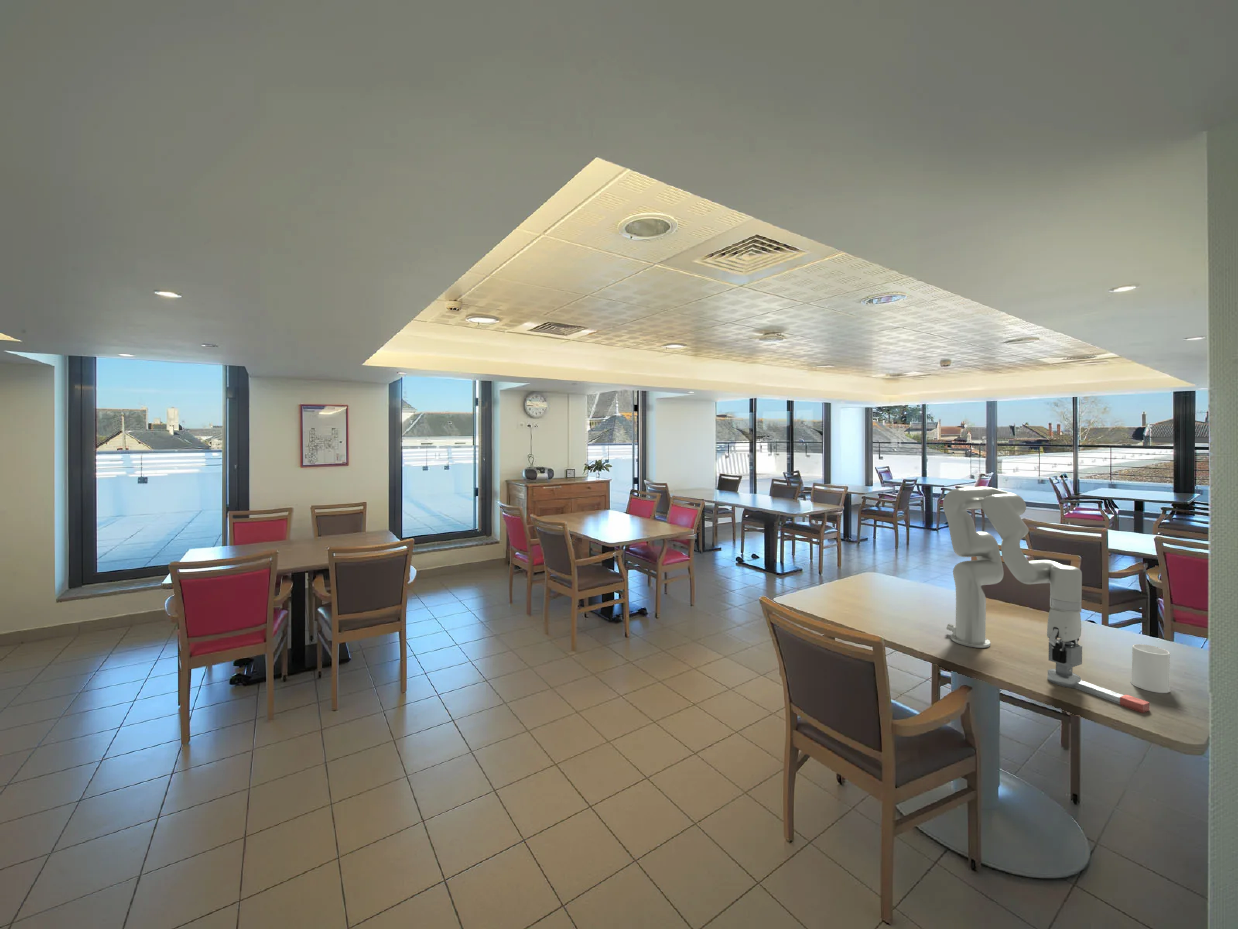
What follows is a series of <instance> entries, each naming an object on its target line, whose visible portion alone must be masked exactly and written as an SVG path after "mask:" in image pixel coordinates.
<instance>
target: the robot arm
mask: <svg viewBox="0 0 1238 929" xmlns="http://www.w3.org/2000/svg"><path fill="white" fill-rule="evenodd" d="M942 508H943V512H944V514H945V517H946V522H947V524H948V529H949V531H948V532H949V534H950V535H949V536H950V540H951V544H952V549H953V551H954V553H955V554H956V555H957V556H958V557H963V558H973V557H976V559H974V560H964V561H960V562H958V563H956V564H955V566H954V568H953V569H952V570H953V571H952V575H953V580H954V585H955V625H954V624H951V623H948V624H947V625H946V630H948V631H951V632H952V634H951V635H950V639H951V641H953V643H956V644H959V645H962V646H965V647H969V648H974V649H975V648H976V649H983V648H984V649H986V648H989V647H991V640H989V639H988V638H986V631H987V630H986V628H987V627H986V626H987V624H986V620H987V615H986V614H987V613H986V612H987V610H986V609H987V608H986V607H987V599H986V594H985V591H984V590H983V588H982V586H986V585H988V586H989V585H997V584H998V583H1000V582H1001V581H1002V580H1003V579H1004V575H1005V574H1004V573H1005V572H1004V567H1003V563H1004V564H1005V566H1006V567H1007V569H1008V570H1009V572H1010V573H1011V574H1012V576H1013V577H1014V578H1015V579H1016V580H1017V581H1019V582H1020V583H1022V584H1025V585H1037V584H1050V585H1049V591H1050V593H1049V594H1050V595H1049V607H1050V609H1049V612H1048V617H1047V624H1046V626H1047V627H1046V637H1047V638H1048V643H1049V642H1050V643H1051V645H1052V660H1054V661H1057V662H1060V663H1063V664H1064V663H1065V651H1064V647H1065V642H1068V641H1071V642H1072V643H1075V644H1078V645H1079V641H1080V638H1081V636H1082V618H1081V616H1082V615H1081V613H1082V603H1083V601H1082V596H1083V595H1082V592H1083V591H1082V590H1083V588H1082V587H1083V586H1082V585H1083V572H1082V570H1081V569H1080V568H1079V567H1076V566H1074V565H1069V564H1068V565H1067V564H1062V563H1059V562H1057V561H1054V560H1050V559H1038V560H1037V559H1036V560H1035V559H1034V560H1028V559H1027V557H1026V556H1025V554H1024V553H1023V550H1022V548H1021V545H1020V544H1021V541H1022V539H1023V538H1024V537H1026V536H1027V535H1028V534H1029V532H1030V529H1029V527H1028V525H1026V523H1025V521H1024V520H1023V519H1022V518H1021V515H1023V514H1025V513H1026V510H1027V504H1026V502H1025V500H1024V499H1023V497H1021V496H1020V495H1018V494H1016V493H1013V492H1009V491H1006V490H1002V489H998V488H995V487H989V486H969V487H967V486H965V487H957V488H954V489H951V490H949V491H948V492H947V493H946V495H945V496H944V498H943V502H942ZM977 509H979V510H980V509H981V510H982V512H984V515H985V516H986V518H987V519H988V521H989V522H990V523H991V525H992V526H993V527H994V529H995V531H996V532H997V534H998V535H999V536H1000V538H1001V543H1000V544H1001V546H1000V547H1001V548H1000V547H999V544H998V542H997V539H995V537H994V536H993V535H992V534H991V533H990V532H987V531H977V529H976V526H975V522H974V519H973V517H972V516H971V513H970V512H968V511H967V510H977ZM1000 549H1001V552H1000ZM1001 556H1002V557H1001ZM1002 560H1003V561H1002ZM1058 639H1062V640H1058ZM1057 641H1058V642H1061V646H1060V645H1059V643H1057Z"/></svg>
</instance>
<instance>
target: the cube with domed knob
mask: <svg viewBox="0 0 1238 929" xmlns="http://www.w3.org/2000/svg"><path fill="white" fill-rule="evenodd" d="M1057 639H1058V640H1062V639H1061V638H1057ZM1057 643H1059V645H1060V646H1061V642H1058V641H1057ZM1064 651H1065V663H1064V664H1063V663H1060V662H1057V661H1054V660H1052V645H1051V643H1050V642H1049V641H1048V661H1050V662H1053V663H1055V664H1056V663H1058V664H1061V665H1064V666H1067V667H1070V668H1072V667H1073V668H1074V667H1077V666H1080V665H1083V645H1082V644H1079V643H1078V644H1075V643H1072V642H1071V641H1068V642H1065V647H1064ZM1073 668H1072V669H1073Z"/></svg>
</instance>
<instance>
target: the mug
mask: <svg viewBox="0 0 1238 929" xmlns="http://www.w3.org/2000/svg"><path fill="white" fill-rule="evenodd" d="M1131 647H1132V648H1131V653H1132V654H1131V677H1130V678H1131V679H1130V683H1131V685H1133V686H1135V687H1136V688H1139V689H1142V690H1144V691H1148V692H1151V693H1159V694H1168V693H1170V692H1171V688H1170V667H1171V666H1170V664H1171V662H1170V661H1171V660H1170V658H1171V653H1170V651H1169V650H1167V649H1164V648H1162V647H1159V646H1154V645H1149V644H1142V643H1141V644H1140V643H1136V644H1133V645H1132V646H1131Z"/></svg>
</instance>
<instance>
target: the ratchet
mask: <svg viewBox="0 0 1238 929" xmlns="http://www.w3.org/2000/svg"><path fill="white" fill-rule="evenodd" d="M1073 668H1074V667H1072V668H1070V667H1067V666H1064V665H1061V664H1058V663H1055V668H1049V669H1047V680H1048V681H1049V682H1050V683H1051V684H1054V685H1056V684H1057V686H1060V687H1064V688H1069V689H1077V690H1078V691H1081V692H1084V693H1088V694H1090V695H1092V696H1095V697H1098V698H1101V699H1103V700H1105V701H1109V702H1111V703H1115V704H1118V705H1119V706H1122V707H1125V708H1127V709H1130V710H1132V711H1136V712H1138V713H1141V714H1144V713H1147V712H1149V711H1150V702H1149V701H1146V700H1145V699H1140V698H1138V697H1135V696H1131V695H1129V694H1122V693H1118V692H1116V691H1113V690H1110V689H1107V688H1105V687H1102V686H1098V685H1096V684H1093V683H1090V682H1088V681H1084V680H1082V677H1081V676H1080V675H1078V674H1077V673H1074V672H1073Z"/></svg>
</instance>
